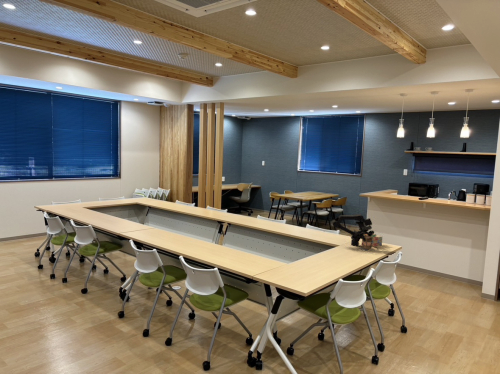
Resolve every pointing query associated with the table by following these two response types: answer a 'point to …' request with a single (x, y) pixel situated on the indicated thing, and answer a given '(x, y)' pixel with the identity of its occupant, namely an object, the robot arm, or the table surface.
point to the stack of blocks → (375, 240)
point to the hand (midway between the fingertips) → (368, 241)
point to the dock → (366, 249)
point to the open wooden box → (368, 239)
